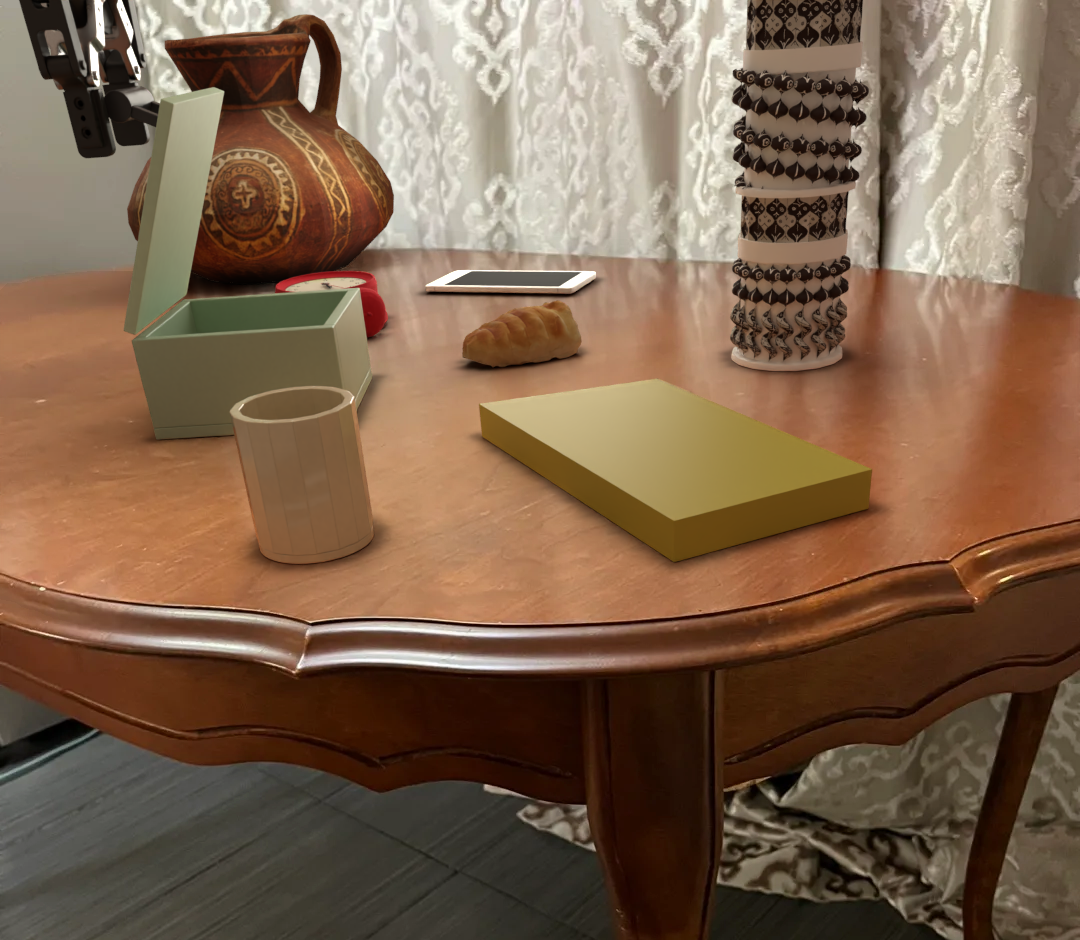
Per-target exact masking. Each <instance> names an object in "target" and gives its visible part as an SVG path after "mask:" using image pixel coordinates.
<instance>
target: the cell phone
mask: <svg viewBox="0 0 1080 940" xmlns="http://www.w3.org/2000/svg"><path fill="white" fill-rule="evenodd" d="M596 278H597V272H596V271H590V270H485V269H483V270H481V269H480V270H479V269H478V270H477V269H474V270H473V269H471V270H470V269H461V270H460V269H459V270H458V269H457V270H454V271H452V272H450V273H448V274H445V275H444V276H441V277H440V278H437V279H435V280H433V281H432V282H430V283H427V284H426V285H425V291H426V292H440V293H441V292H448V293H449V292H450V293H452V292H453V293H507V294H508V293H510V294H512V293H514V294H515V293H516V294H565V295H567V294H568V295H569V294H574V293H575V292H576V291H578V290H581V288H584V286H586V285H587V284H589V283H591V282H592V281H593V280H595V279H596Z"/></svg>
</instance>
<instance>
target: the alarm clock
mask: <svg viewBox="0 0 1080 940" xmlns="http://www.w3.org/2000/svg"><path fill="white" fill-rule="evenodd" d="M348 288H360V294H361V301H362V308H363V315H364V322H365V329H366V336H367V339H368V338H372V337H374V336H375V335H378V334H379V333H380V332H381V331H382V329H383V328H384V326H385V325H386V322H388V320H389V316H388V312H387V309H386V304H385V301H384V300H383V298H382V296H381V295H380V294H379V291H378V281H377V279H376V277H375V274H373V273H370V272H368V271H367V272H366V271H361V270H360V271H359V270H336V271H331V272H320V273H313V274H307V275H301V276H297V277H293V278H289V279H286V280H283V281H281V282H277V283H276V284H275V289H274V293H289V292H304V291H318V290H333V289H348Z"/></svg>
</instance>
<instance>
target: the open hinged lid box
mask: <svg viewBox="0 0 1080 940" xmlns="http://www.w3.org/2000/svg"><path fill="white" fill-rule="evenodd" d="M131 344H132V348H133V352H134V356H135V361H136V365H137V368H138V374H139V376H140V381H141V384H142V388H143V392H144V397H145V400H146V404H147V409H148V412H149V416H150V420H151V423H152V427H153V432H154V436H155V439H156V440H157V441H159V440H175V439H176V440H177V439H188V438H189V439H191V438H192V439H193V438H206V437H208V438H209V437H222V436H234V431H233V426H232V422H231V417H230V410H231V409H232V407H233V406H234V405H235V404H236V403H238V402H240V401H242V400H244V399H246V398H248V397H250V396H254V395H257V394H261V393H264V392H268V391H272V390H278V389H284V388H290V387H303V386H327V387H336V388H340V389H344V390H348V391H349V392H350V393H351V394H352V395H353V396H354V399H355V405H356V412H357V411H358V409H359V407H360V405H361V403H362V401H363V398H364V396H365V394H366V392H367V390H368V388H369V386H370V384H371V382H372V380H373V372H372V365H371V357H370V352H369V344H368V338H367V336H366V329H365V322H364V315H363V308H362V301H361V294H360V288H348V289H333V290H318V291H304V292H289V293H275V292H274V293H261V294H260V293H259V294H246V295H231V296H217V297H216V296H215V297H214V296H213V297H202V298H201V297H200V298H187V299H185V298H183V299H181V300H180V302H178V303H176V304H175V305H174V307H173V306H172V308H171V309H170V310H167V312H165V313H164V314H162V316H161V317H158V318H157V320H156V321H155V322H152V323H151V325H149V326H148V327H147V328H145V329H143V331H142V332H140V333H139V334H138V335H136V337H134V338H133V339H132V340H131Z"/></svg>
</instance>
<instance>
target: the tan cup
mask: <svg viewBox="0 0 1080 940" xmlns="http://www.w3.org/2000/svg"><path fill="white" fill-rule="evenodd" d="M230 417H231V422H232V426H233V431H234V435H233V436H234V439H235V444H236V445H235V446H236V449H237V454H238V458H239V459H238V460H239V462H240V468H241V473H242V477H243V483H244V487H245V489H246V490H245V491H246V496H247V500H248V505H249V509H250V515H251V520H252V524H253V528H254V529H253V530H254V532H255V537H256V540H257V543H258V548H259V551H260V553H261V554H262V555H263V556H264V557H265V558H267V559H268V560H271V561H274V562H278V563H283V564H293V565H298V564H299V565H304V564H305V565H306V564H319V563H324V562H330V561H334V560H337V559H341V558H344V557H347V556H350V555H352V554H354V553H357V552H359V551H361V550H363V548H365V547H366V546H367V545H369V544H370V543H371V541H372V540H373V538H374V536H375V530H374V517H373V511H372V504H371V498H370V497H371V496H370V491H369V484H368V477H367V472H366V465H365V464H366V463H365V459H364V451H363V445H362V438H361V433H360V426H359V419H358V413H357V411H356V405H355V399H354V396H353V395H352V394H351V393H350V392H349V391H348V390H344V389H340V388H336V387H327V386H303V387H290V388H284V389H278V390H272V391H268V392H264V393H261V394H257V395H254V396H250V397H248V398H246V399H244V400H242V401H240V402H238V403H236V404H235V405H234V406H233V407H232V409H231V410H230Z"/></svg>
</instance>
